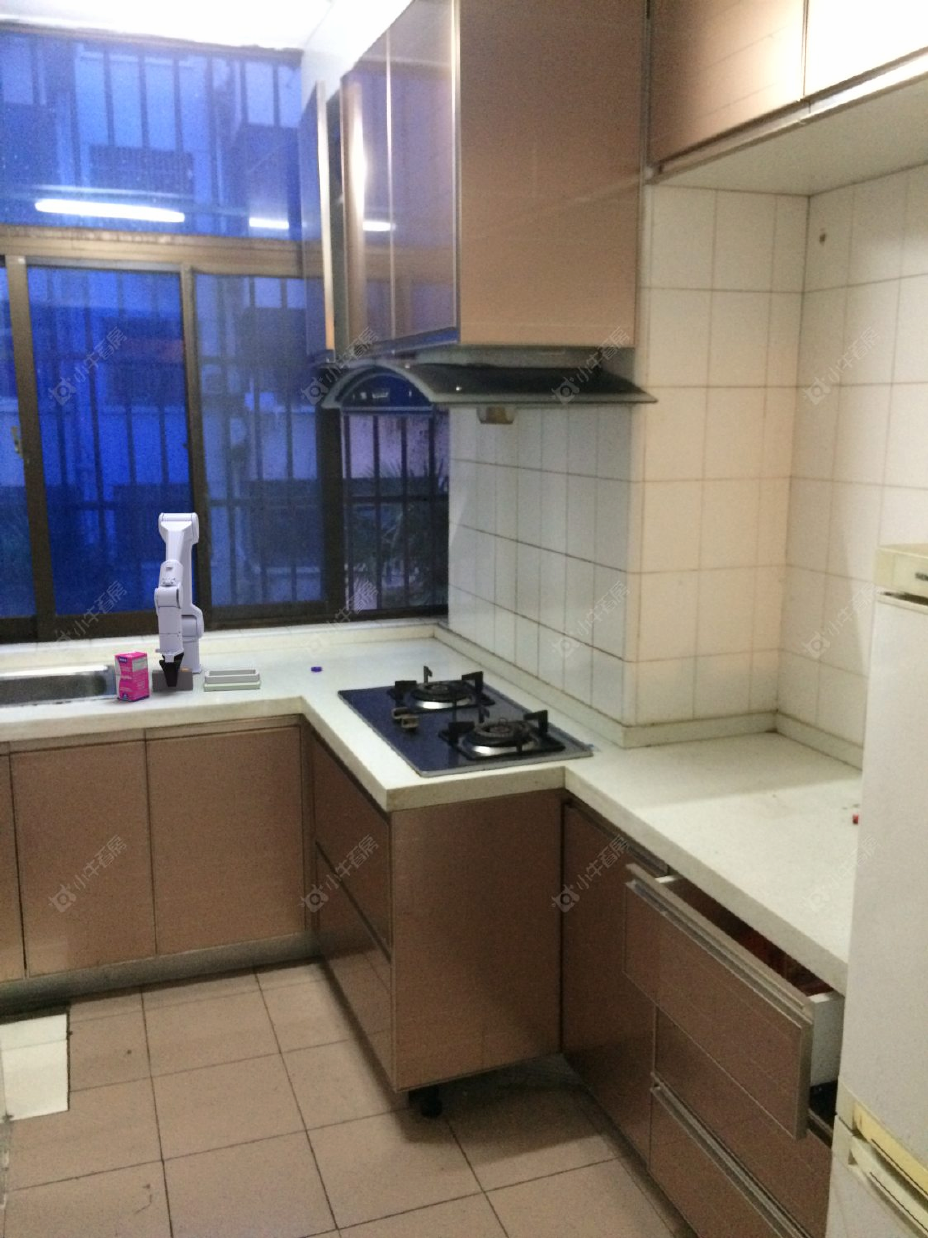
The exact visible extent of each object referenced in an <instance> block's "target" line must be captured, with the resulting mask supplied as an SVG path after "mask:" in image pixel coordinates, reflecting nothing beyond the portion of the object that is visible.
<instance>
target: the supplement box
mask: <svg viewBox="0 0 928 1238" xmlns="http://www.w3.org/2000/svg"><path fill="white" fill-rule="evenodd" d="M148 663H149V661H148V653H146V652H140V651H134V650H129V651H128V650H127V651H125V652H122V653H118V654H115V655H114V666H115V667H114V669H115V670H114V671H115V684H116V685H115V686H116V687H115V688H116V698H117V700H122V701H128V702H132V703H135V702H138V701H141V700H144V699H148V698H150V697H151V695H150V680H149V677H150V675H149V664H148Z"/></svg>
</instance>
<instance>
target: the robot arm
mask: <svg viewBox="0 0 928 1238" xmlns="http://www.w3.org/2000/svg"><path fill="white" fill-rule="evenodd" d="M199 527H200V525H199V517H198V514H197V513H196V512H190V513H189V512H188V513H187V512H184V513H182V512H181V513H168V512H167V513H164V512H161V513H160V514H159V516H158V532H159V534H160V536H161V538H162V540H163V541H164V543H165V550H166V551H165V561H163V562H162V563H161V564H160V572H159V578H158V588H157V587H156V588H155V589H154V594H153V595H154V596H153V597H154V605H155V611H156V613H155V614H156V615H157V618H158V622H157V623H158V638H159V640H158V641H159V648H155V649H154V653H156V654H158V653H159V654H161V657H162V659H159V660H158V664H159V666H160V668H161V670H163V672H164V675H165V679H166V683H167V686H168V687H176V685H177V679H178V671H179V669H187V668H193V674H201V673H202V668H203V664H202V663H200V643H199V639H202V637H203V636H204V634H205V633H204V631H205V623H204V617H203V615H204V614H203V612H202V609H200V608H199V607H197V606H196V605H195V604H193V587H192V585H193V582H192V581H193V580H192V549H193V545H195V544H197V543H199V539H200V528H199ZM186 615H187V616H186Z"/></svg>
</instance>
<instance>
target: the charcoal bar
mask: <svg viewBox="0 0 928 1238" xmlns="http://www.w3.org/2000/svg"><path fill="white" fill-rule="evenodd" d="M151 684H152V686H151V687H152V692H153V693H157V692H160V693H161V692H177V691H176V690H182V691H193V690H194V673H193V668H187V669H179V671H178V679H177V685H176V687H168V686H167V683H166V679H165V675H164V672H163V670H162V669H153V670H152V671H151Z"/></svg>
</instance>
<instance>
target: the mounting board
mask: <svg viewBox="0 0 928 1238" xmlns="http://www.w3.org/2000/svg"><path fill="white" fill-rule="evenodd" d="M260 673H261V672H260V669H259V668H257V667H254V668H253V667H251V668H250V667H249V668H227V669H223V668H222V669H208V670H206V671H205V672H204V685H203V692H214V691H213V690H222V691H240V690H241V691H242V690H245V691H246V690H260V689H261V685H260V683H261V680H260V679H261V676H260Z"/></svg>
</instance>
